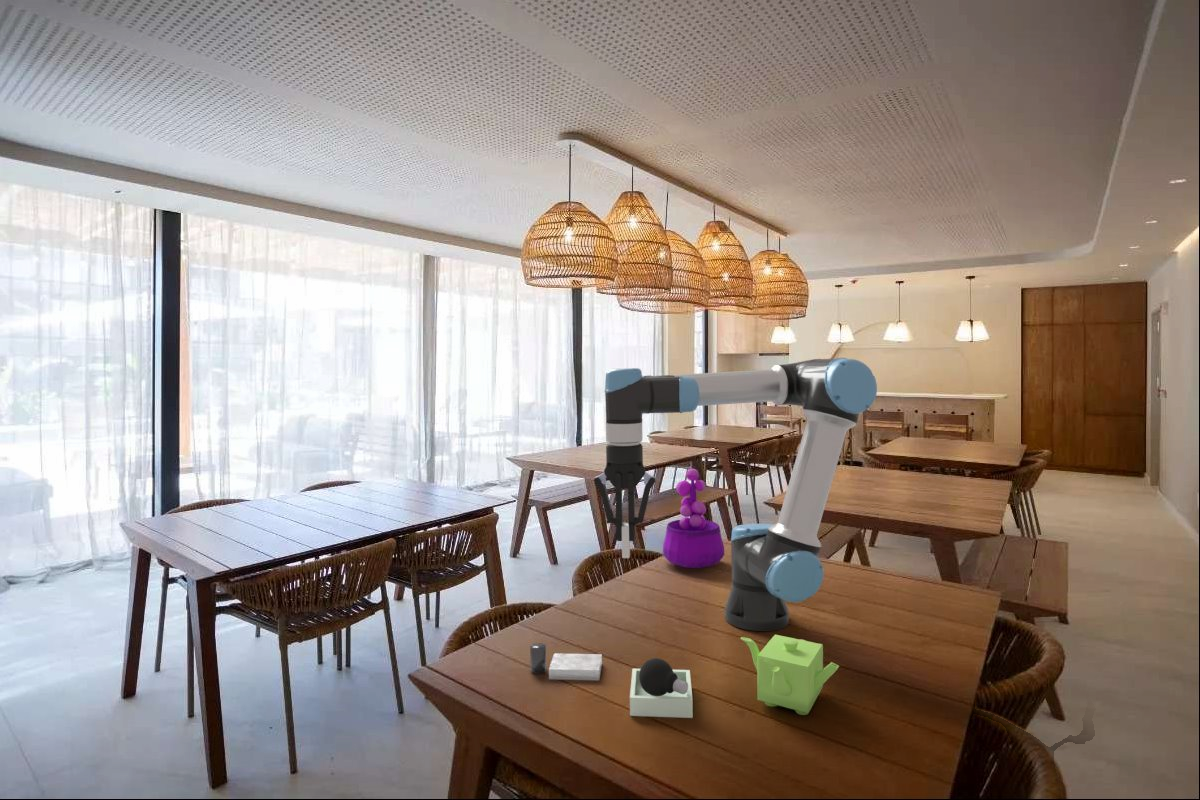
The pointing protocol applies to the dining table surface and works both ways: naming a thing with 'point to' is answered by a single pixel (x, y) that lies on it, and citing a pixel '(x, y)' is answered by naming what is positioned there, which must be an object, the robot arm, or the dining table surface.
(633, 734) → the dining table surface
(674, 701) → the tray
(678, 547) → the decorative plant
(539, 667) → the cylinder
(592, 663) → the white stone flat block
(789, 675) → the kettle
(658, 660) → the light bulb
